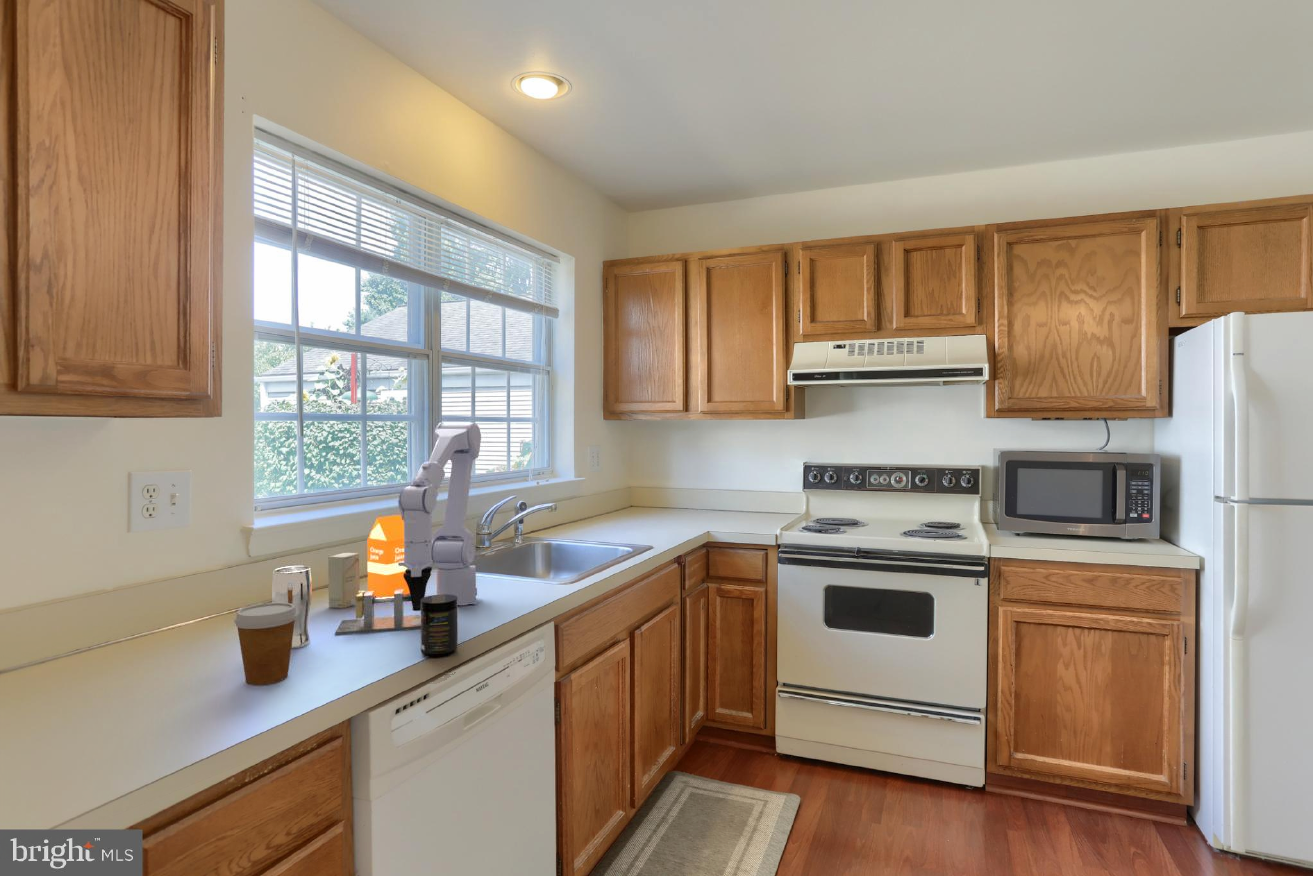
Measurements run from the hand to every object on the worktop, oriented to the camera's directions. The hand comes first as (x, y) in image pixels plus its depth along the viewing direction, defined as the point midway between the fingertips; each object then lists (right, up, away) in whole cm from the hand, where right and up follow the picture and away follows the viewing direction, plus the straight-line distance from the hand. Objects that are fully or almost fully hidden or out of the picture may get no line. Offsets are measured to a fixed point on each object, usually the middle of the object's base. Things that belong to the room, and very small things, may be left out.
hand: (418, 603), depth 152 cm
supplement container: (+11, -5, -20) cm, 23 cm away
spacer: (-11, +1, -3) cm, 12 cm away
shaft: (-6, -1, -2) cm, 6 cm away
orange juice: (-16, -4, +27) cm, 31 cm away
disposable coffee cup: (-14, -5, -33) cm, 37 cm away
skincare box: (-23, -4, +15) cm, 28 cm away
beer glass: (-20, -5, -15) cm, 25 cm away
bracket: (-7, -4, -2) cm, 8 cm away
